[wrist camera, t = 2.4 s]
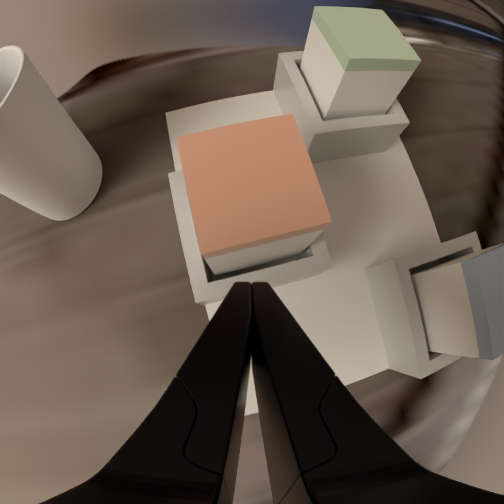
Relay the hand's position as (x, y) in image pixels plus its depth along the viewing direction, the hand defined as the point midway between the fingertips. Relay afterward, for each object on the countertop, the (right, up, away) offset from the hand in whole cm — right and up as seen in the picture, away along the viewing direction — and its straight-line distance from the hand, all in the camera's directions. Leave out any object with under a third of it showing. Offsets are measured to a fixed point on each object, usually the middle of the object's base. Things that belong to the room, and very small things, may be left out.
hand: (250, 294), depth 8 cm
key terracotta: (0, +3, +9) cm, 9 cm away
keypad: (+4, +3, +13) cm, 14 cm away
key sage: (+6, +12, +11) cm, 17 cm away
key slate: (+12, -2, +9) cm, 15 cm away
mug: (-15, +7, +13) cm, 21 cm away
